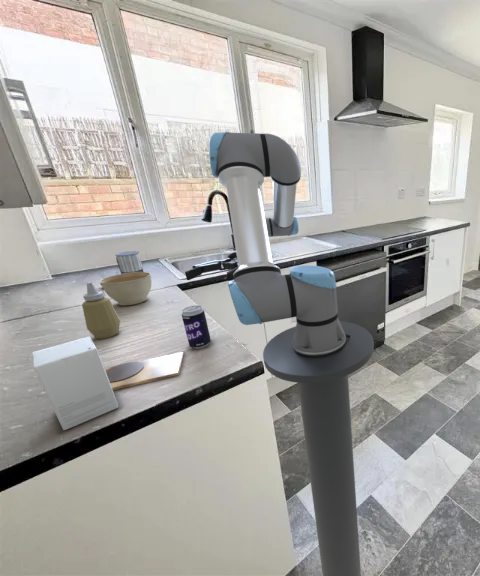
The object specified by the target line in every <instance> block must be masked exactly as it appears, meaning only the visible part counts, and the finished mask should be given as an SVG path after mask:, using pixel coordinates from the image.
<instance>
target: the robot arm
mask: <svg viewBox="0 0 480 576" xmlns="http://www.w3.org/2000/svg"><path fill="white" fill-rule="evenodd" d="M208 141H209V142H208V155H209V164H210V165H209V166H210V170H211V174H212V176H213V177H214V178H216V179H218V182H219V183H220V184H221V185H222V186H223V187H224V188H226V189H225V190H226V195H227V203H228V208H229V213H230V220H231V222H230V223H231V227H232V233H233V239H234V246H235V250H234V251H232V252H230V253H229V254H228V256H227V258H225V259H219V258H216V259H214V260H211V261H205V262H202V263H198V264H193V265H191V267H192V268H191V269H189V270H186V271H184V275H185V279H186V281H191V280H193V279H195V278H197V277H200V276H201V275H203V274H204V273H209V272H215V271H221V272H222V271H227V272H226V276H227V280H228V282H227V286H228V290H229V293H230V297H231V300H232V303H233V307H234V310H235V313H236V316H237V319H238V320H239V322H240V323H241V324H242V325H244V326H252V325H262V324H263V323H270V322H274V321H281V320H285V319H291V318H295V321H296V325H295V326H296V328H295V330H294V337H293V350H294V352H295V353H297V354H298V355H300V356H303V357H308V358H319V357H326V356H329V355H332V354H335V353H337V352H339V351H340V350H341V349H343V347H344V346H345V344H346V337H347V338H350V335H348V334H345V333H344V330H343V328H342V326H341V324H340V319H339V312H338V311H339V309H338V297H337V281H336V275H335V273H334V272H333V270H331V269H330V268H327V267H324V266H319V265H310V264H309V265H308V264H305V265H296V266H293V267H291V268H290V270H289V273H288V274H282V271H281V267H279V266H277V265H276V264H275V263H274V260H273V256H272V250H271V243H270V238H272V237H274V238H275V237H289V236H295V235H296V236H297V235H298V233H299V222H298V218H297V217H296V216H295V209H296V208H295V207H296V195H297V185H298V183H299V182H300V181H301V177H302V176H301V175H302V167H301V161H300V159H299V157H298V155H297V153H296V152H295V150H294V149H293V147H292V146H291V145H290V144H289V143H288V142H287V141H286V140H284V139H283V138H281V137H279V136H278V135H275V134H272V133H258V132H257V133H255V132H231V131H220V132H219V131H217V132H216V131H215V132H213V133H212V134H211V135H210V137H209V139H208ZM265 178H271V180H272V205H273V206H272V207H273V209H272V211H273V212H272V213H273V217H266V215H265V210H264V204H263V197H262V193H261V186H262V185H263V184H264V182H265Z"/></svg>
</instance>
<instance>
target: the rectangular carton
mask: <svg viewBox="0 0 480 576" xmlns="http://www.w3.org/2000/svg"><path fill="white" fill-rule="evenodd" d="M32 359H33V363H32V364H33V371H34V372H35V374H36V376H37V378H38V380H39V382H40V384H41V386H42V388H43V390H44V392H45V395H46V397H47V398H48V399H47V400H48V401H49V403H50V405H51V407H52V409H53V411H54V414H55V416H56V418H57V420H58V422H59V424H60V426H61V428H62V430H63V431H66V430H70V429H71V428H73V427H76V426H78V425H82V424H83V423H85V422H88V421H90V420H92V419H96V418H97V417H100V416H103V415H105V414H106V413H109V412H111V411H113V410H116V409H118V408H119V403H118V401H117V398H116V395H115V393H114V390H112V387H111V384H110V382H109V379H108V376H107V374H106V371H105V369H104V368H105V365H104V364H103V361H102V359H101V356H100V353H99V351H98V349H97V346H96V345H95V343H94V341H93V340H92V339H91V337H90V336H89V335H88V336H85V337H81V338H77V339H75V340H71V341H68V342H63V343H61V344H56V345H53V346H50V347H46V348H43V349H39V350H36V351H32Z"/></svg>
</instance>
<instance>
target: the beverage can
mask: <svg viewBox="0 0 480 576" xmlns="http://www.w3.org/2000/svg"><path fill="white" fill-rule="evenodd" d="M181 311H182V312H181V318H182V323H183V326H184V330H185V335H186V339H187V343H188V345H189V347H190V348H192V349H195V350H199V349H203V348H205V347H207V346H208V345H209V344H210V343H211V340H212V339H211V334H210V330H209V325H208V322H207V317H206V313H205V310H204V309H203V307H202V306H201V305H190V306H187V307H184V308H182V310H181Z"/></svg>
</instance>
